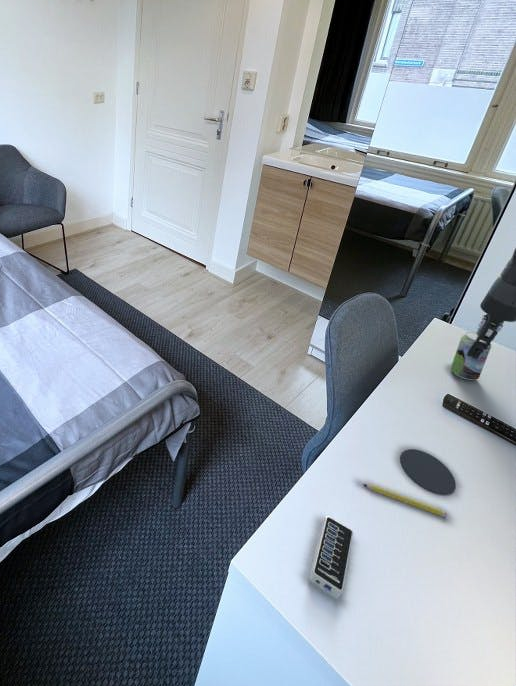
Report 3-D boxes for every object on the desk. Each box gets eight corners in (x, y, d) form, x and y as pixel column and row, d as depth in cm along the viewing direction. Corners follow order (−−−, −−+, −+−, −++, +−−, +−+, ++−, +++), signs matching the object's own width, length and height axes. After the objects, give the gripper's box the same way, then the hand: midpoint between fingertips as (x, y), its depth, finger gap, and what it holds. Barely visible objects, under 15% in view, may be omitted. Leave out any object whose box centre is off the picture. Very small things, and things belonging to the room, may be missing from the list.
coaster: (458, 472, 85) (459, 471, 85) (450, 505, 79) (450, 504, 79) (406, 441, 91) (406, 440, 91) (394, 469, 84) (395, 468, 84)
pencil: (361, 483, 81) (362, 480, 81) (443, 513, 77) (446, 510, 77) (361, 487, 81) (363, 484, 80) (445, 518, 77) (447, 515, 76)
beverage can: (467, 386, 108) (490, 350, 102) (439, 366, 113) (459, 332, 108) (482, 379, 110) (505, 344, 104) (453, 361, 116) (473, 326, 110)
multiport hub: (349, 538, 72) (353, 530, 71) (337, 600, 64) (342, 593, 63) (322, 522, 74) (326, 514, 73) (307, 580, 66) (312, 572, 65)
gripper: (526, 317, 93) (487, 372, 101) (530, 293, 103) (494, 346, 111) (485, 301, 98) (451, 355, 106) (492, 280, 107) (461, 331, 115)
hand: (473, 350), depth 108 cm, fingers closed on beverage can, 6 cm apart
